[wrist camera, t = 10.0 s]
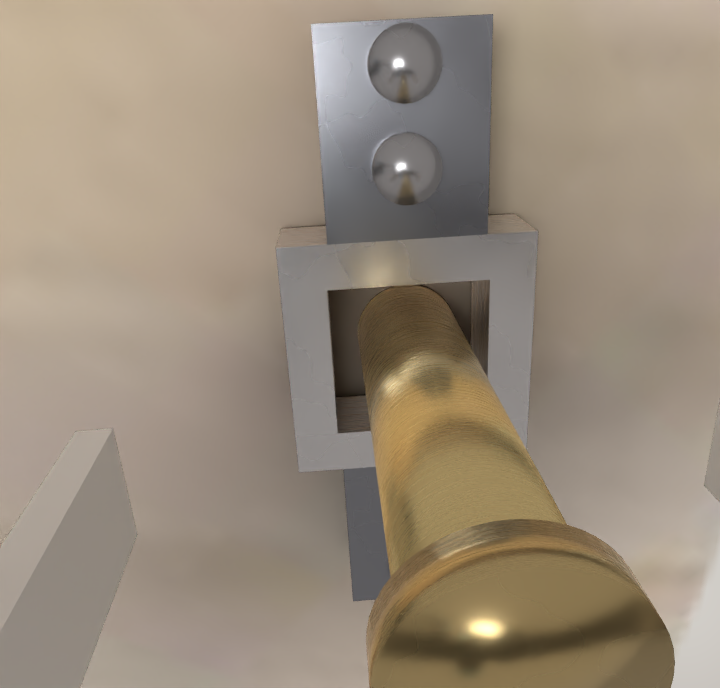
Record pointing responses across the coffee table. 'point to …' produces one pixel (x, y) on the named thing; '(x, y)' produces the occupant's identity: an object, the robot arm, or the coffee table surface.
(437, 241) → the chain joint
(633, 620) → the pin
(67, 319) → the coffee table surface
